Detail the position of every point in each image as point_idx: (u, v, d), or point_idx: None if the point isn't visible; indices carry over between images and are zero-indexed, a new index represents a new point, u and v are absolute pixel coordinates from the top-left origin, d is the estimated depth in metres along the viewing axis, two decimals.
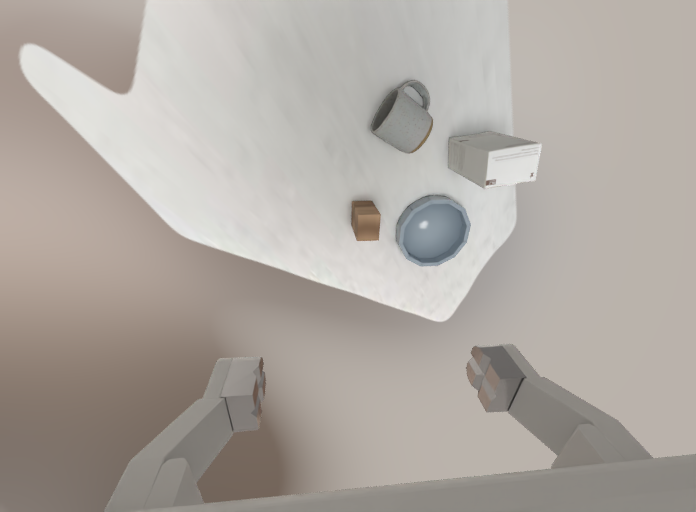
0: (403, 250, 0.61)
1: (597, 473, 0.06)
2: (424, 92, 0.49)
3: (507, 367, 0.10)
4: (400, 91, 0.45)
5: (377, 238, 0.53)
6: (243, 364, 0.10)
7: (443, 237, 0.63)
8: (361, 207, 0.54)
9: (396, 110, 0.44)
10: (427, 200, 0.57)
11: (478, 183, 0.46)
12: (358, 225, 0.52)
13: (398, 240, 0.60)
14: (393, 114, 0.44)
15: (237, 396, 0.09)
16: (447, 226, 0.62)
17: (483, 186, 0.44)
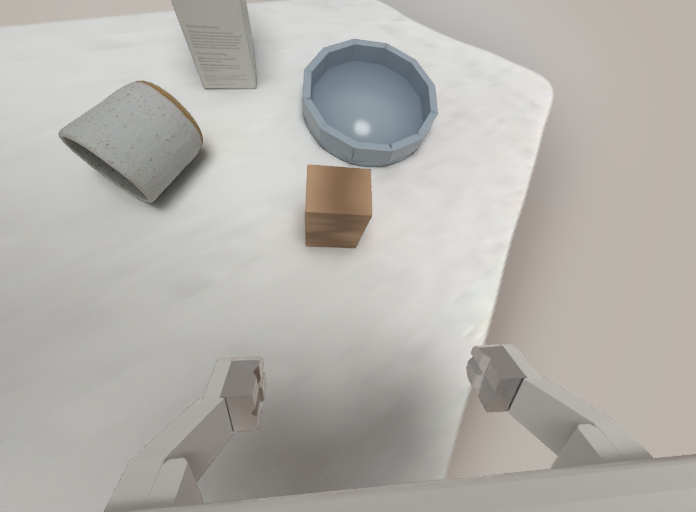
0: (405, 143, 0.30)
1: (597, 473, 0.06)
2: None
3: (507, 367, 0.10)
4: None
5: (366, 171, 0.23)
6: (243, 364, 0.10)
7: (380, 86, 0.35)
8: None
9: (76, 130, 0.21)
10: (304, 106, 0.30)
11: None
12: (332, 211, 0.22)
13: (384, 154, 0.30)
14: (82, 135, 0.21)
15: (237, 396, 0.09)
16: (360, 81, 0.34)
17: None
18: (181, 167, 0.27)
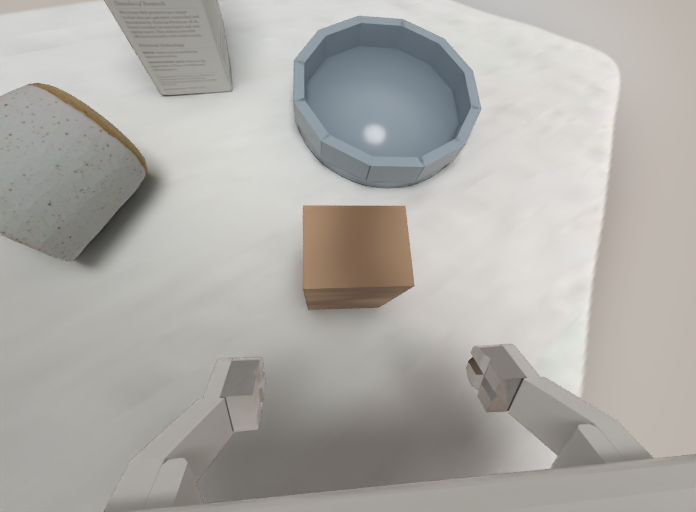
0: (440, 154, 0.22)
1: (597, 473, 0.06)
2: None
3: (507, 367, 0.10)
4: None
5: (398, 210, 0.14)
6: (243, 364, 0.10)
7: (398, 78, 0.26)
8: None
9: None
10: (297, 111, 0.22)
11: None
12: (348, 284, 0.13)
13: (412, 171, 0.22)
14: None
15: (237, 396, 0.09)
16: (370, 73, 0.26)
17: None
18: (113, 206, 0.18)
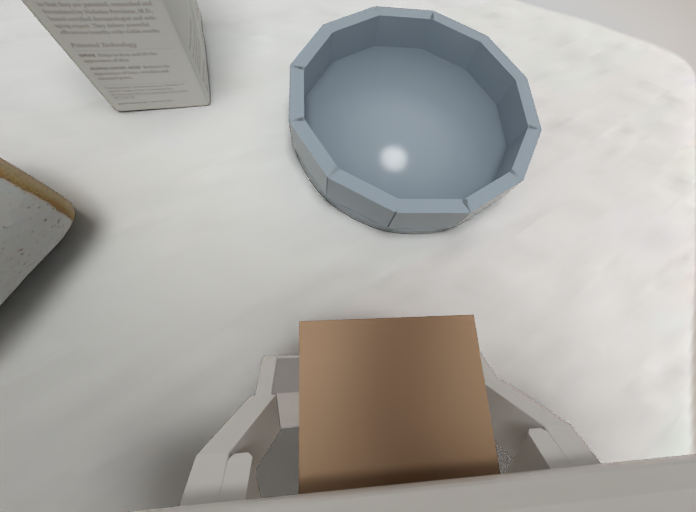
0: (491, 194, 0.16)
1: (597, 473, 0.06)
2: None
3: None
4: None
5: (462, 323, 0.08)
6: (289, 362, 0.10)
7: (425, 87, 0.20)
8: None
9: None
10: (294, 134, 0.16)
11: None
12: (382, 479, 0.07)
13: (452, 217, 0.16)
14: None
15: (287, 393, 0.09)
16: (390, 80, 0.20)
17: None
18: (13, 274, 0.13)
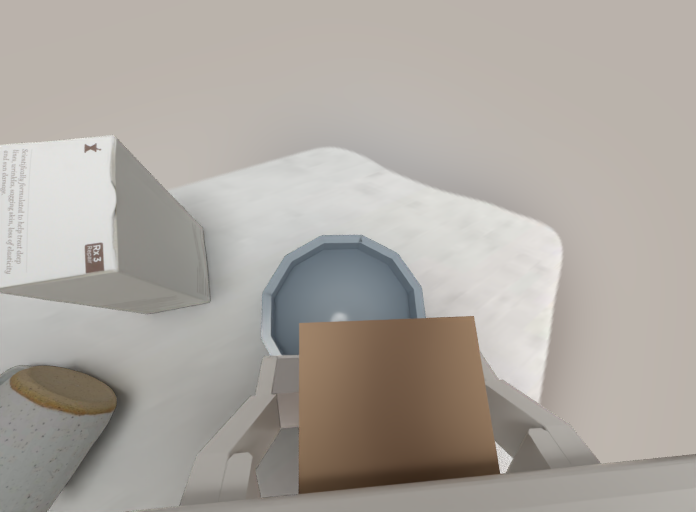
0: None
1: (597, 473, 0.06)
2: (7, 377, 0.24)
3: None
4: None
5: (462, 325, 0.08)
6: (289, 362, 0.10)
7: (358, 282, 0.29)
8: None
9: None
10: (265, 344, 0.25)
11: (131, 279, 0.16)
12: (382, 481, 0.07)
13: None
14: None
15: (287, 393, 0.09)
16: (333, 279, 0.29)
17: (114, 273, 0.15)
18: (85, 454, 0.22)
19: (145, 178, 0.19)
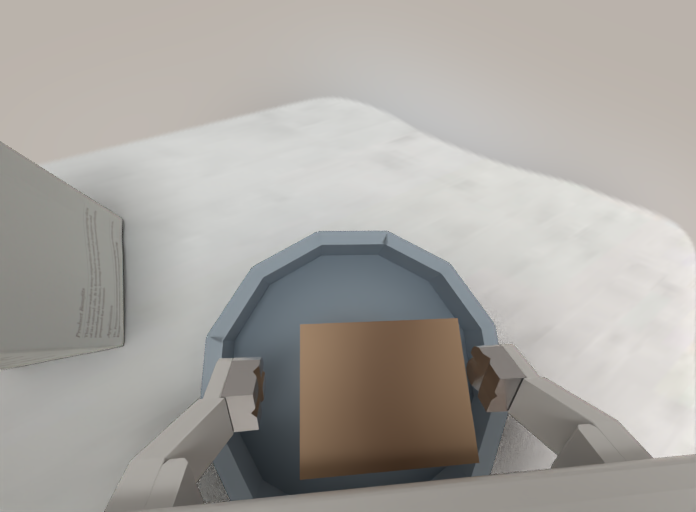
0: None
1: (597, 473, 0.06)
2: None
3: (507, 367, 0.10)
4: None
5: (447, 326, 0.09)
6: (243, 364, 0.10)
7: (379, 312, 0.17)
8: None
9: None
10: None
11: None
12: (373, 465, 0.08)
13: None
14: None
15: (237, 396, 0.09)
16: (338, 306, 0.17)
17: None
18: None
19: None
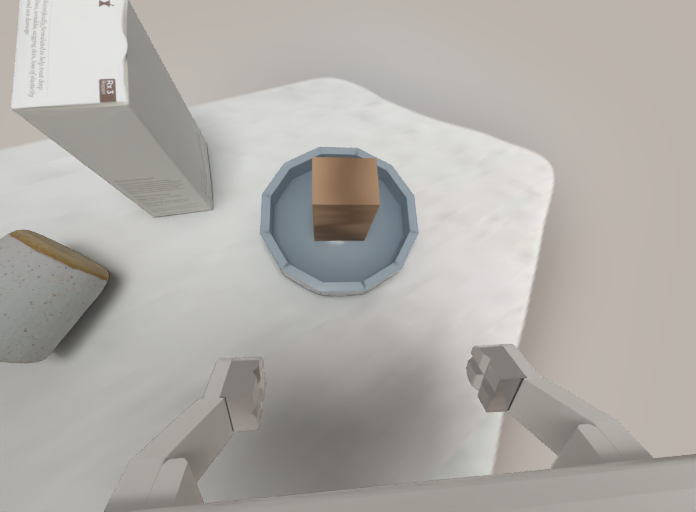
0: (380, 277, 0.26)
1: (597, 473, 0.06)
2: None
3: (507, 367, 0.10)
4: None
5: (371, 160, 0.23)
6: (243, 364, 0.10)
7: None
8: None
9: None
10: None
11: (140, 127, 0.18)
12: (339, 203, 0.21)
13: (357, 291, 0.26)
14: None
15: (237, 396, 0.09)
16: None
17: (125, 108, 0.16)
18: (78, 315, 0.23)
19: (153, 54, 0.21)
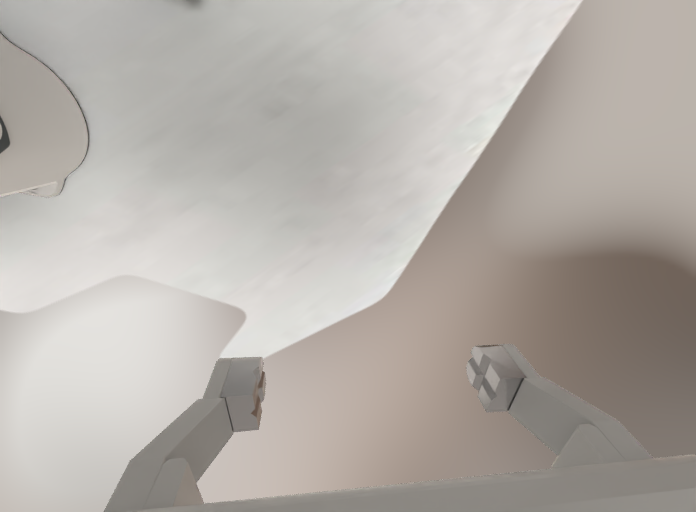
0: None
1: (597, 473, 0.06)
2: None
3: (507, 367, 0.10)
4: None
5: None
6: (243, 364, 0.10)
7: None
8: None
9: None
10: None
11: None
12: None
13: None
14: None
15: (237, 396, 0.09)
16: None
17: None
18: None
19: None
